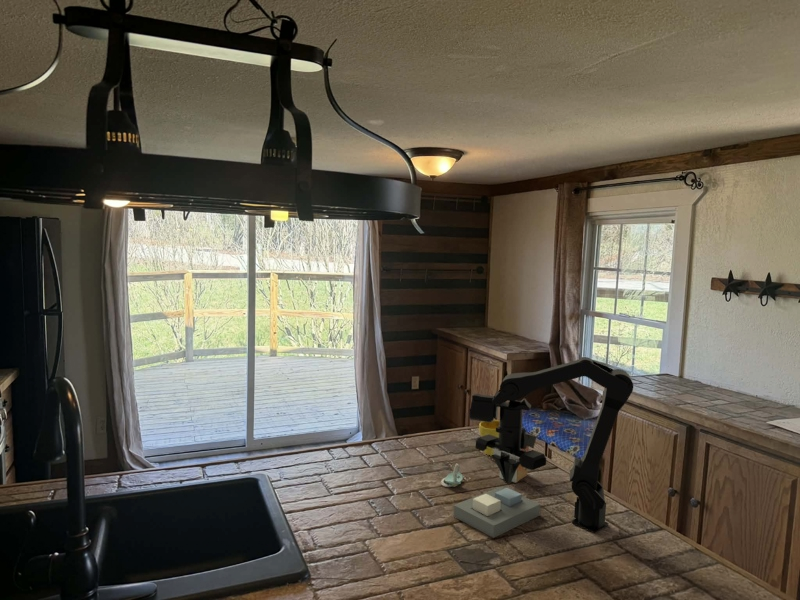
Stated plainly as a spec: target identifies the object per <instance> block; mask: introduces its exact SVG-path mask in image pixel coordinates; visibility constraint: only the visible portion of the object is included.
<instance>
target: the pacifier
mask: <svg viewBox="0 0 800 600" xmlns="http://www.w3.org/2000/svg"><path fill="white" fill-rule="evenodd" d="M462 481H463V474H462V473H461V472H460V465H459V464H458V463H455V466H454V467H453V471H452V472H450V473H448V474H447V475H446V477H444V478H441V480H440V484H441V485H442V486H443V487H445V488H454V487H457V486H458V485H461V484H462ZM445 482H446V483H445ZM447 483H448V484H447Z"/></svg>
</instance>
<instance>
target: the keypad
mask: <svg viewBox="0 0 800 600" xmlns="http://www.w3.org/2000/svg"><path fill="white" fill-rule="evenodd" d="M505 488H506V487H502V486H498V487H495V488H493V489H490V490H489V491H485V492H483V493H480V494H478V495H475V496H473V497H471V498H468V499H465V500H463V501H461V502H459V503H456V504H454V505H453V517H454V518H455V519H457V520H460V521H461V522H463V523H464V524H466V525H468V526H470V527H472V528H475V529H476V530H478V531H480V532H482V533H483V534H486V535H487V536H488V537H491V538H492V539H493V538H497V537H498V536H500V535H503V534H505V533H507V532H509V531H511V530H512V529H515V528H516V527H519V526H521V525H523V524H525V523H527V522H529V521H531V520H534V519H535V518H537V517H540V515H541V503H539V502H537V501H534V500H532V499H529V498H528V497H526V496H523V495H522V499H521V502H520V503H518V504H516V505H513V506H511V507H508V506H506V505H504V504H502V503H500V511H498V512H496V513H494V514H491V515H489V516H486V515H484V514H482V513H480V512H478V511H476V510H474V509H473V499H474V498H476V497H479V496H481V495H484V494H488V495H490V496H492V497H494V498H495V492H498V491H500V490H503V489H505Z"/></svg>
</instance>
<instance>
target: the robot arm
mask: <svg viewBox="0 0 800 600" xmlns="http://www.w3.org/2000/svg"><path fill="white" fill-rule="evenodd" d="M582 377H585V378H588V379H589V380H590V381H592V382H594V383H596V384H597V385H599V386H601V387H603V397H602V404H601V407H600V410H599V412H598V415H597V418H596V421H595V423H594V426H593V429H592V433H591V435H590V438H589V441H588V443H587V446H586V450H585V451H584V454H583V455H582V457H581V458H580V459H579V458H578V457H577V456H576V457H575V456H574V459H573V460H574V461H573V465H572V468H570V470H569V481H570V482H571V490H572V492H573V494H574V495H575V496H577V497H576V501H575V502H574V508H573V509H574V510H573V511H574V512H573V513H574V515H573V517H574V519H572V520H571V523H572V524H573V525H575V526H578V527H579V528H580V527H581V528H582V529H584V530H586V531H589V532H591V533H594V534H596V533H599V532H600V531H602V530H603V529H604V528H607V527H608V526H609V523H608V522H607V521H606V515H607V514H606V512H607V502H606V499H605V497H606V496H605V490H604V486H603V485H602V484H601V483H600V482H599V473H600V472H599V471H600V464H601V461H602V458H603V456H604V454H605V451H606V449H607V448H606V447H607V445H608V442H609V440H610V436H611V433H612V431H613V428H614V427H615V426H614V425H615V422H616V420H617V417H618V414H619V412H620V411H621V409H622V408H623V407H624V406H625V405H626V403H627V401H628V400H629V398H630V397H631V394H632V392H633V391H634V383H633V381H632V378H631V376H630V374H629V373H628V372H627V371H626V370H623V369H621V368H615V369H614V368H611V367H610V366H608V365H605V364H602V363H600V362H597V361H595V360H593V359H592V358H590V357H587V356H583V357H580V358H579V359H577V360H576V359H575V360H573V361H569V362H566V363H563V364H558V365H555V366H552V367H549V368H544V369H541V370H538V371H533V372H517V373H516V372H515V373H513V372H512V373H509V374H507V375H505V377H504V378H503V380H502V382H501V384H500V386H499V390H497V391H496V392H495V393H494V394H493V395H486V394H480V393H476V392H475V393H473V394H472V397H471V401H470V402H471V404H470V408H469V421H476V422H482V421H484V422H493V420H498V416H499V427H497V428H496V432H498V433H499V438H498V437H495V436H492V435H490V434H489V435H485V436H482V437H481V436H479V437H477V439H476V440H475V449H477V450H478V451H481V452H484V451H485V450H486V449H487V447H490V448H493V450H494V455H492V456H491V458H492V459H494V461H495V463H496V465H497V467H498V469H499V472H500V471H501V474H502V476H503V478H504V479H503V480H504V483H505V484H506V485H510V484H511V483H512V479H513V476H514V474H515V472H516V470H517V468H518V466H519V465H521V466H522V467H525V468H527V470H530V471H534V470H537V469H539V468H542V467H544V466H547V457H546V454H545V453H542V452H540V451H538V450H537V451H536V450H534V448H535V445H536V441H537V436H536V435H534V434H530V433H527V432H526V431H527V430H526V428H525V427H523V417H524V416H523V414H524V411H530V410H531V407H532V404H531V403H530V402H529V401H528V400H527V398H525V397H526V396H528V395H530V394H532V393H533V392H535V391H538V390H540V389H542V388H546V387H548V386H552V385H553V386H554V385H556V384H560V383H564V382H567V381H570V380H575V379H577V378H578V379H579V378H582ZM522 398H523V399H522ZM521 399H522V400H521ZM527 446H529V448H531V449H530V450H528V452H525V451H522V450H521V449H526V448H527Z"/></svg>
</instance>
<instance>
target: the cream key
mask: <svg viewBox="0 0 800 600" xmlns="http://www.w3.org/2000/svg"><path fill="white" fill-rule="evenodd" d="M500 503H501V500H498V499H496V498H494V497H492V496H490V495H488V494H484V495H481V496H479V497H476V498H474V499H473V509H474V510H476V511H478V512H480V513H482V514H484V515H486V516H489V515H491V514H494V513H496V512H498V511H500Z"/></svg>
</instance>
